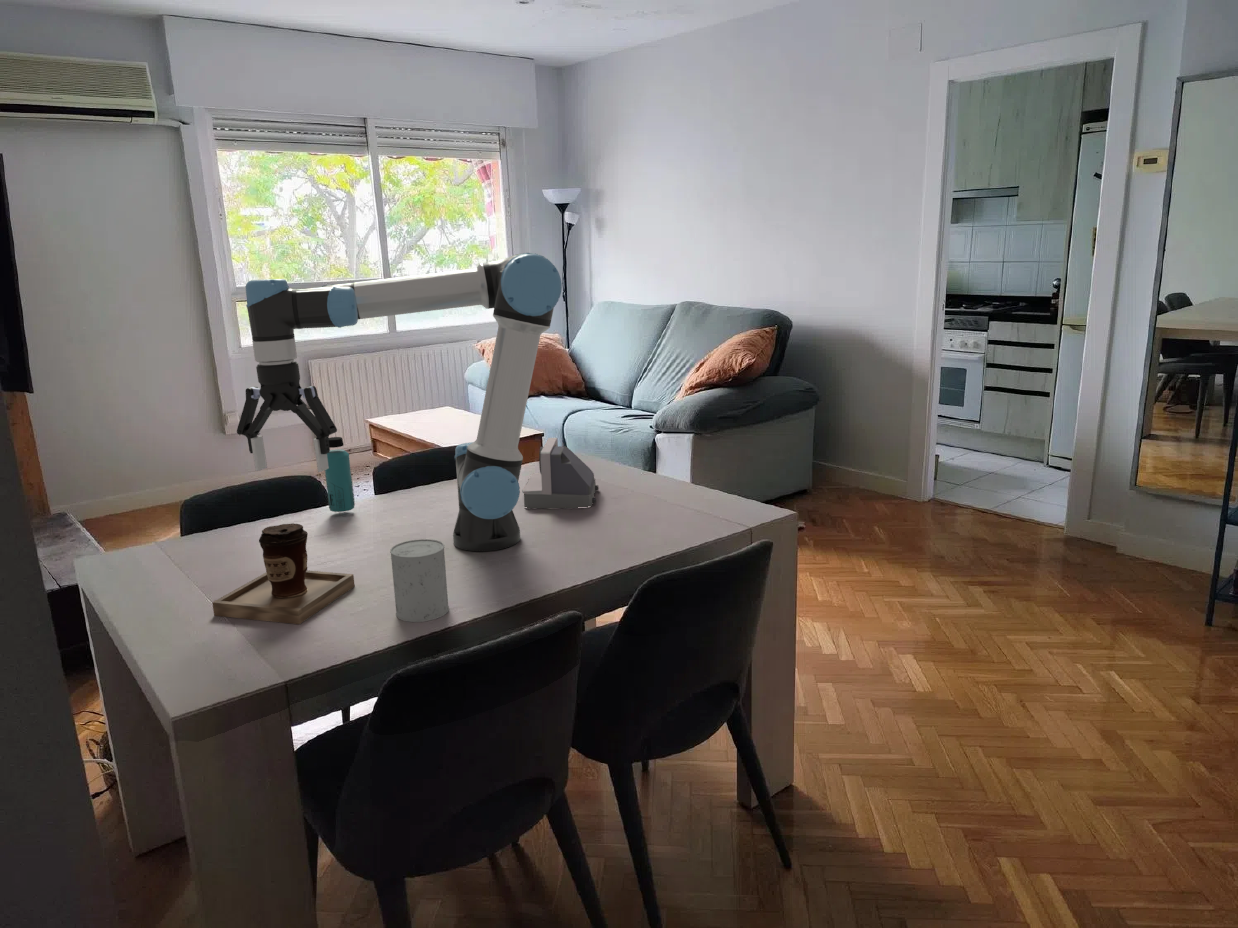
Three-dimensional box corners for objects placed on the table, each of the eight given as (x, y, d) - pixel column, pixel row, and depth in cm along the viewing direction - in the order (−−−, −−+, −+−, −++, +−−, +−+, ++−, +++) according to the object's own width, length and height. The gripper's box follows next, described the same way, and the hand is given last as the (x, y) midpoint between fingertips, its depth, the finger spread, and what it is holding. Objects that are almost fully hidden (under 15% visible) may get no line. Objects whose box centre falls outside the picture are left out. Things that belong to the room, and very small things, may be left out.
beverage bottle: (361, 511, 216) (353, 435, 212) (343, 519, 211) (334, 441, 206) (341, 509, 219) (334, 434, 214) (323, 516, 213) (314, 439, 208)
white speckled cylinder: (400, 602, 159) (395, 540, 156) (451, 599, 160) (447, 538, 157) (391, 623, 150) (385, 558, 147) (445, 620, 151) (440, 555, 148)
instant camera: (535, 487, 237) (533, 435, 233) (607, 489, 233) (606, 436, 229) (512, 509, 217) (509, 452, 213) (590, 512, 213) (588, 454, 209)
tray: (354, 586, 167) (353, 574, 166) (299, 624, 150) (297, 610, 150) (276, 579, 172) (274, 567, 171) (214, 615, 155) (212, 602, 154)
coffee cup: (296, 603, 155) (288, 536, 152) (256, 600, 157) (247, 534, 154) (321, 585, 164) (314, 521, 160) (283, 583, 165) (275, 520, 162)
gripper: (346, 358, 161) (359, 465, 167) (231, 360, 167) (247, 464, 172) (325, 363, 154) (339, 475, 159) (206, 365, 159) (224, 473, 165)
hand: (292, 469), depth 166 cm, fingers open, 13 cm apart
